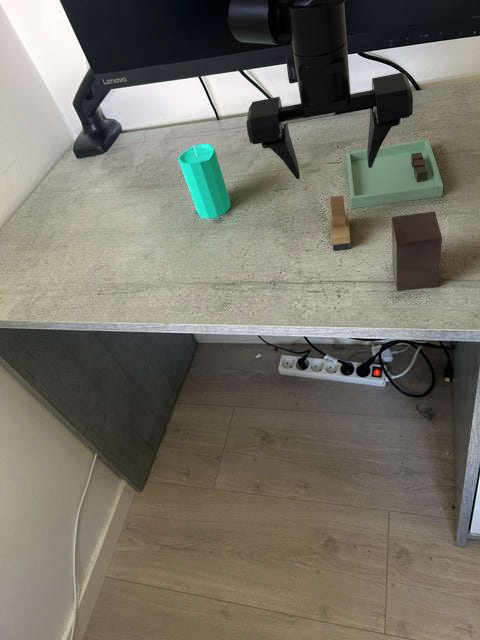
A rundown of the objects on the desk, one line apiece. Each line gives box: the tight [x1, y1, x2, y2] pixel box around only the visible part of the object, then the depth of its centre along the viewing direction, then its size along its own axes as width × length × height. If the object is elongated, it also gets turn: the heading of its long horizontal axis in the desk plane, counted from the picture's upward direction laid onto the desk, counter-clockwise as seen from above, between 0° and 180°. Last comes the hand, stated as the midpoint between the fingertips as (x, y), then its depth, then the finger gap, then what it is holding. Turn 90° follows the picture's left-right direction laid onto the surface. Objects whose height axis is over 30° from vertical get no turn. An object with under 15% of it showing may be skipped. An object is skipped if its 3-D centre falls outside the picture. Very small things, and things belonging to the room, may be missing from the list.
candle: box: [177, 143, 232, 220], centre depth 80 cm, size 6×6×12 cm
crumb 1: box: [411, 152, 423, 168], centre depth 78 cm, size 2×2×2 cm
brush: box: [329, 194, 351, 252], centre depth 69 cm, size 6×3×7 cm, turn 175°
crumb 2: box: [414, 159, 425, 174], centre depth 76 cm, size 2×2×2 cm
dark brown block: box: [391, 211, 443, 292], centre depth 60 cm, size 5×5×8 cm
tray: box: [345, 138, 444, 210], centre depth 77 cm, size 13×13×2 cm
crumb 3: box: [415, 166, 428, 182], centre depth 75 cm, size 2×2×2 cm
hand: (333, 171), depth 64 cm, fingers open, 9 cm apart
